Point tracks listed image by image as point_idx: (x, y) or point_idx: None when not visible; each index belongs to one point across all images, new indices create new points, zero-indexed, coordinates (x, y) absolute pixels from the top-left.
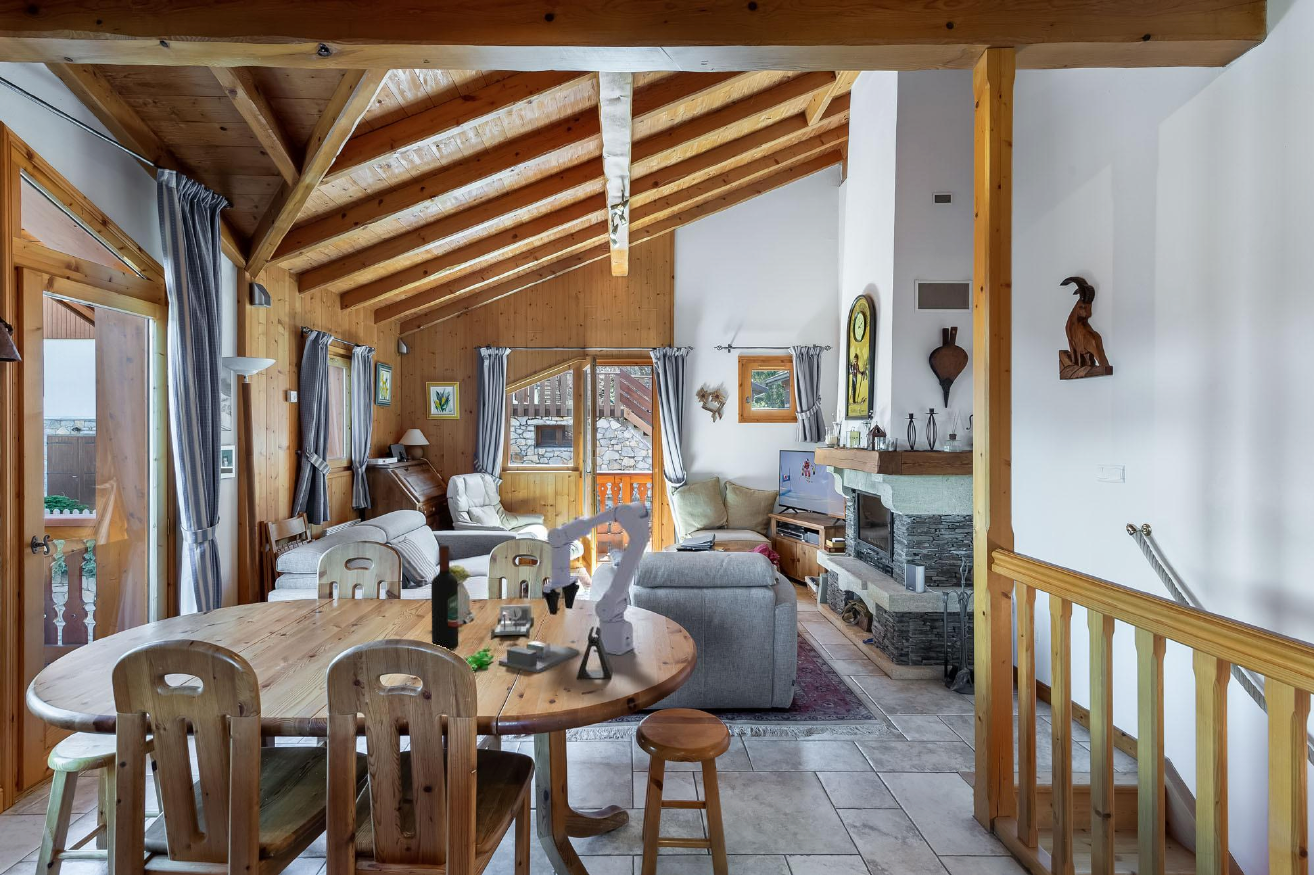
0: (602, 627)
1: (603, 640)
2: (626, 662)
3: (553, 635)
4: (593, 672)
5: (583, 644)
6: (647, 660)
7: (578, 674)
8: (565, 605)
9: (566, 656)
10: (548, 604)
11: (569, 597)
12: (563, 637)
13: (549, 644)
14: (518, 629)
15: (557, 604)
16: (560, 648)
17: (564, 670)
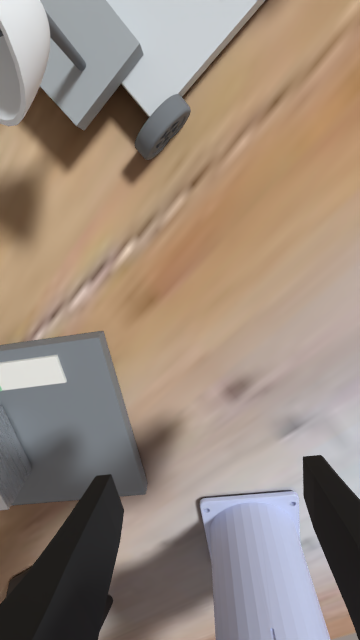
0: (215, 630)
1: (212, 567)
2: (183, 592)
3: (259, 251)
4: None
5: (234, 437)
6: None
7: (8, 594)
8: (311, 476)
9: (76, 498)
10: (47, 560)
11: (358, 598)
12: (261, 316)
13: (4, 508)
14: (87, 97)
15: (96, 621)
16: (110, 443)
17: (21, 531)
